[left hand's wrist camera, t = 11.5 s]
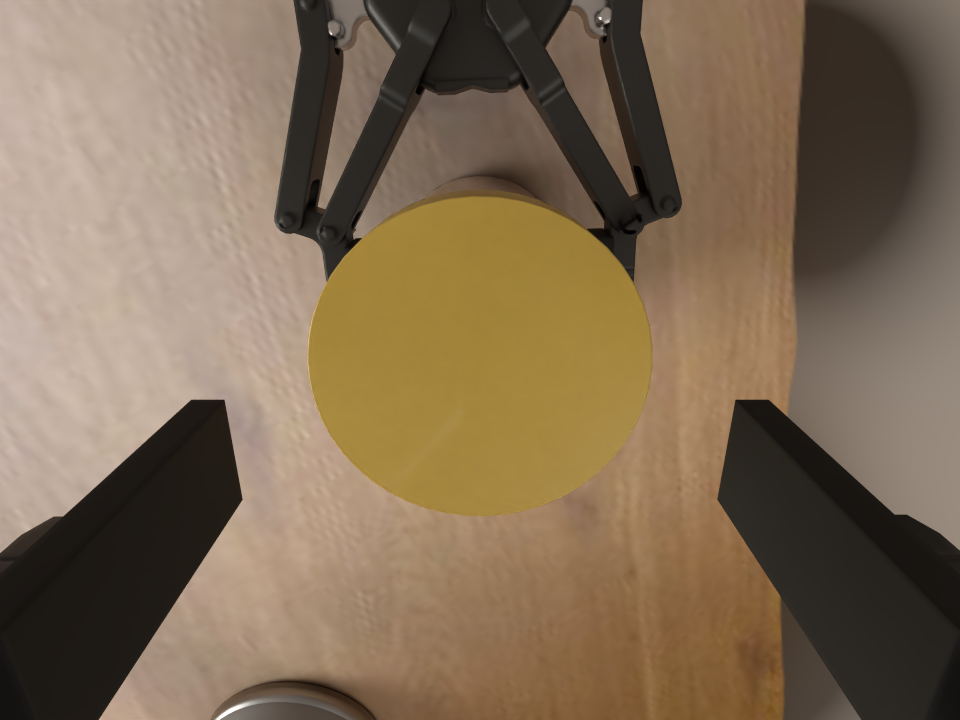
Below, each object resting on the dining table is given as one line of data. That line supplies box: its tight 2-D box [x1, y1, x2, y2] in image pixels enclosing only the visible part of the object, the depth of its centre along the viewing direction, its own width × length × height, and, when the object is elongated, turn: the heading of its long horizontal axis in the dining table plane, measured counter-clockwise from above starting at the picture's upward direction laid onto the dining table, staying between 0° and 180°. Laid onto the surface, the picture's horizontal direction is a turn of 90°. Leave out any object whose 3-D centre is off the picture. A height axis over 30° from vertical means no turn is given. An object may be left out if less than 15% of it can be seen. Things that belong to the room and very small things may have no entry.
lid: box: [307, 189, 652, 516], centre depth 19 cm, size 11×11×2 cm
